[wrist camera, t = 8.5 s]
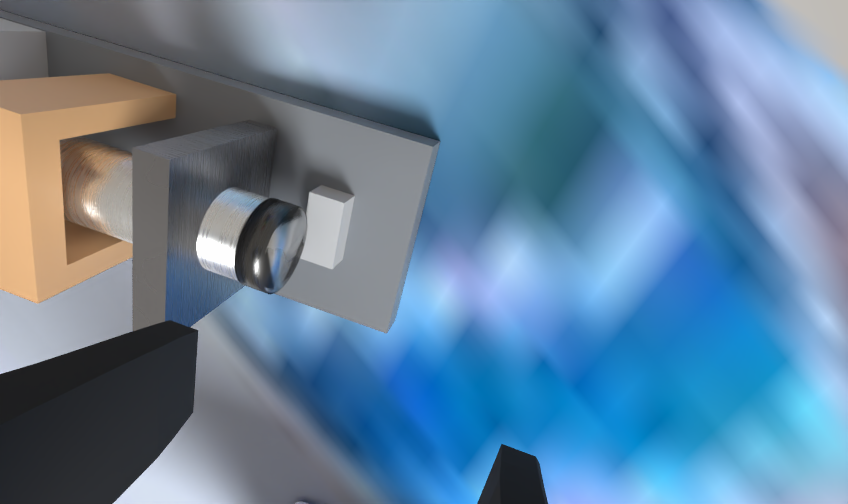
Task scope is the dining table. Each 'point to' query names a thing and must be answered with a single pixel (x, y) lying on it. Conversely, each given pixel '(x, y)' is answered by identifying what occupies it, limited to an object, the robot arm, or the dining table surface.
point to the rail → (274, 163)
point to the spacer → (59, 176)
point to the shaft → (188, 216)
